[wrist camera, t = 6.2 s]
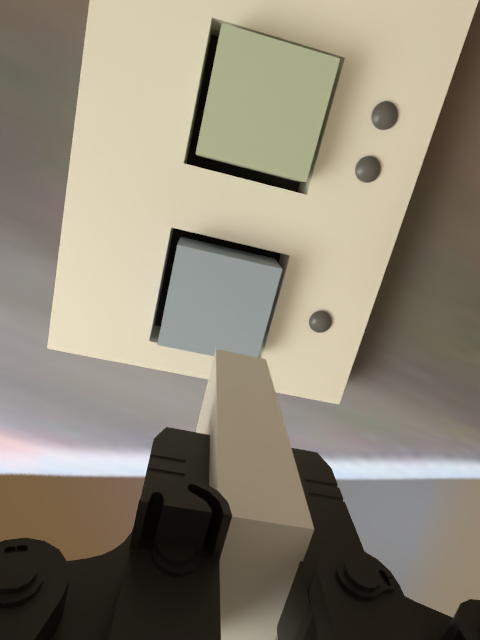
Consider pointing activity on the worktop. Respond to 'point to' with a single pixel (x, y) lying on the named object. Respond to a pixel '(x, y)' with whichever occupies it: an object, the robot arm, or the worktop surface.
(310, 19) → the panel
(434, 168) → the worktop surface
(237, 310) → the button
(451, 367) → the worktop surface
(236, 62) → the button
